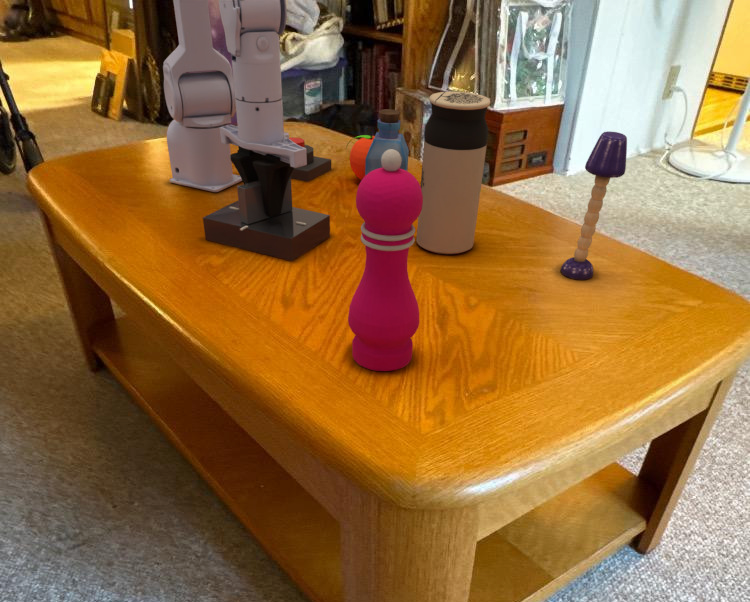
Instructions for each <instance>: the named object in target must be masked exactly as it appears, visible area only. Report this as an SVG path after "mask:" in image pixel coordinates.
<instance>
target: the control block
mask: <svg viewBox="0 0 750 602" xmlns="http://www.w3.org/2000/svg"><path fill="white" fill-rule="evenodd" d="M305 148H306V154H307V165H305V166H301V167H297V168H294V170H293V172H292V174H291V180H297V181H302V182H307V183H309V182H310V181H312V180H315V179H316V178H318V177H320V176H322V175H324V174H326V173H328V172H330V171H331V170H332V159H331V158H326V157H320V156H315V154H314V147H313V146H311V145H308V144H305Z"/></svg>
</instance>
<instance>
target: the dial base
mask: <svg viewBox="0 0 750 602" xmlns="http://www.w3.org/2000/svg"><path fill="white" fill-rule="evenodd" d="M202 223H203V229H204V237H205V241H209V242H212V243H213V242H214V243H217V244H222V245H226V246H230V247H234V248H238V249H241V250H245V251H248V252H249V251H250V252H254V253H257V254H262V255H265V256H268V257H269V256H270V257H273V258H278V259H282V260H286V261H288V262H289V261H290V262H294V261H296V260H297V259H298V258H300V257H301V256H303V255H305V254H306V253H308V252H309V251H310V250H312V249H314V248H315V247H317V246H318V245H320V244H321V243H323V242H325V241H326V240H327V239H329V238H330V237H331V214H326V213H322V212H317V211H312V210H308V209H303V208H299V207H294V206H292V211H289V212H286V213H283V214H279V215H276V216H273V217H270V218H267V219H264V220H260V221H257V222H254V223H251V224H246V223H243V222H241V221H240V212H239V201H238V200H236V201H233V202H232V203H229V204H228V205H225V206H223V207H222V208H221V207H220V208H219V209H217V210H215V211H213V212H211V213H209V214H207V215H205V216H203V217H202Z"/></svg>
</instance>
